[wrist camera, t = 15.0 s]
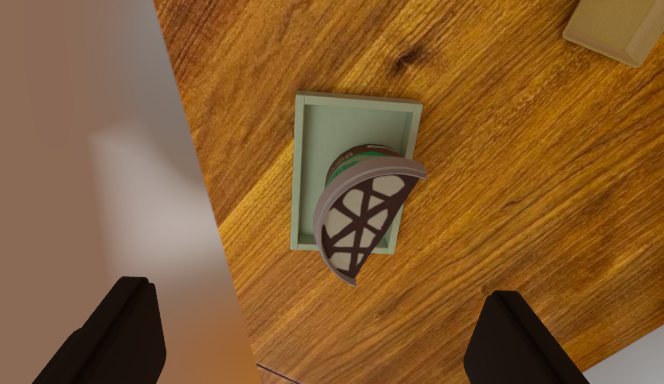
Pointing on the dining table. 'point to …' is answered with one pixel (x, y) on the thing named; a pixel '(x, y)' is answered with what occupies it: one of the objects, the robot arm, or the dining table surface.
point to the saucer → (617, 28)
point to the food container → (361, 204)
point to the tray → (343, 149)
